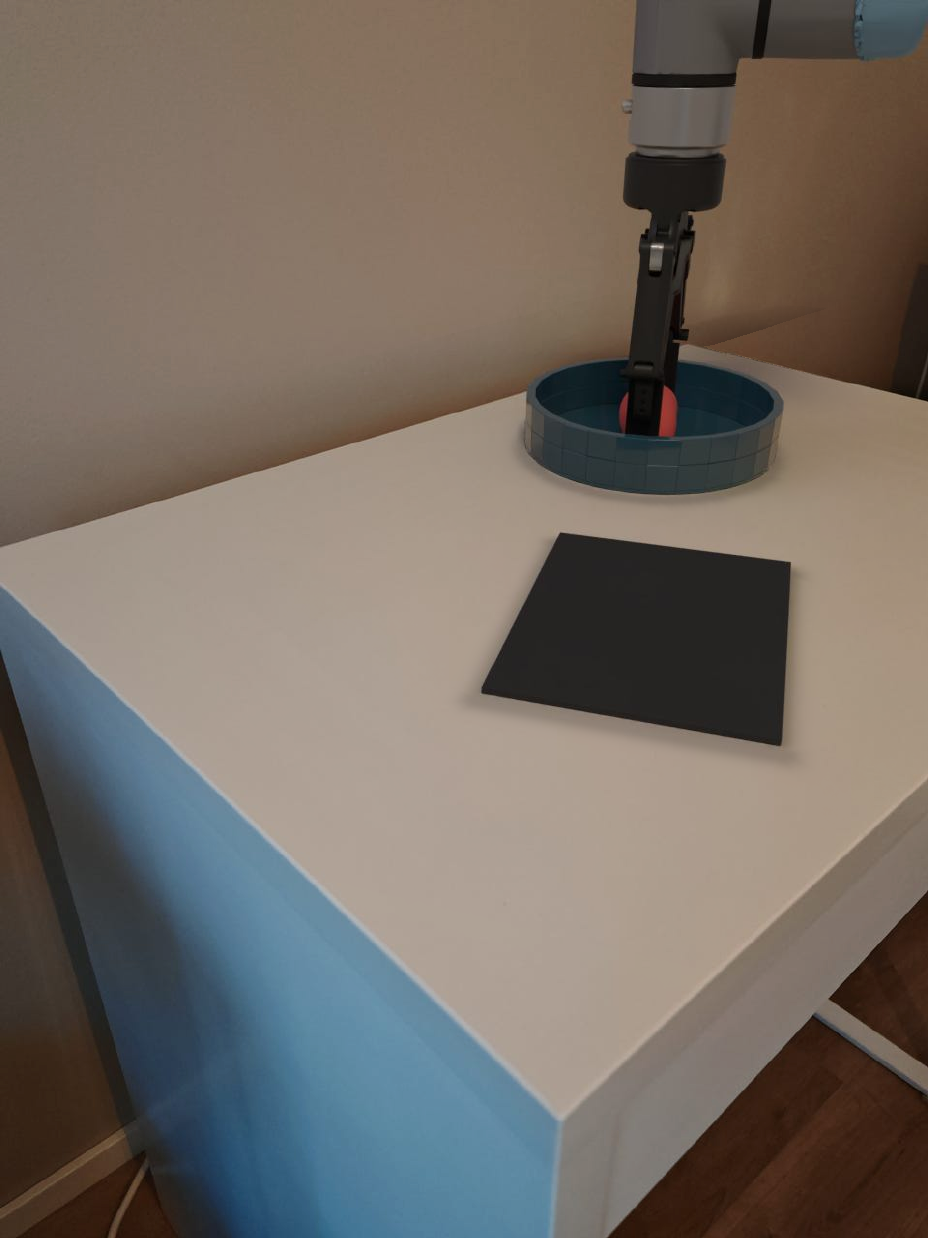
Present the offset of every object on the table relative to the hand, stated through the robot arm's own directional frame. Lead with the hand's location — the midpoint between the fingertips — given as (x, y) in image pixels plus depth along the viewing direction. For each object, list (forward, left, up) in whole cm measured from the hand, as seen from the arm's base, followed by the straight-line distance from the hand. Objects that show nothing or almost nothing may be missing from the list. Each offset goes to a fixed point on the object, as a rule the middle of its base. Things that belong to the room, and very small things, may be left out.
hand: (648, 432), depth 84 cm
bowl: (0, 0, -1) cm, 1 cm away
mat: (-5, +30, -1) cm, 30 cm away
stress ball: (0, 0, -1) cm, 1 cm away
